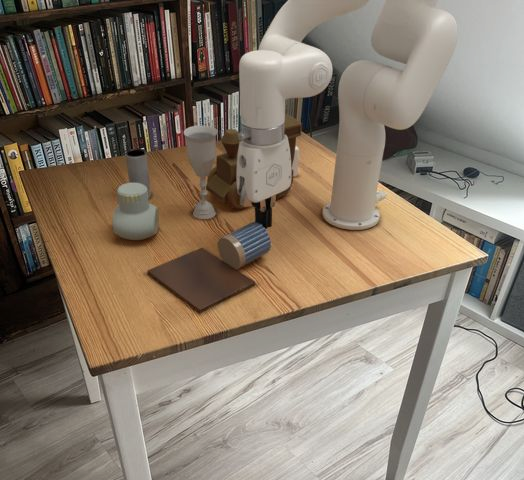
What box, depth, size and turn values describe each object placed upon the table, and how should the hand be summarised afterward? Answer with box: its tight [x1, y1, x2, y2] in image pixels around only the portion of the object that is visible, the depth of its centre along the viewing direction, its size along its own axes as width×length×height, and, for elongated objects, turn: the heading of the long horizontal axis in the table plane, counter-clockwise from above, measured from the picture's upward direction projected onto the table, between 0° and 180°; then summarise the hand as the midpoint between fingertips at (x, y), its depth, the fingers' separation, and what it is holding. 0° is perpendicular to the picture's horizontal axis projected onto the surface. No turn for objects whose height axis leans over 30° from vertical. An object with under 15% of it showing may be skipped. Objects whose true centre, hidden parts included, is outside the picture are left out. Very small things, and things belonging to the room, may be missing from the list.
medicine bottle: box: [291, 145, 300, 178], centre depth 138 cm, size 7×7×12 cm
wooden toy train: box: [205, 113, 303, 210], centre depth 127 cm, size 20×11×17 cm, turn 124°
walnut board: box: [147, 247, 256, 314], centre depth 105 cm, size 13×16×1 cm
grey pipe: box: [125, 148, 152, 199], centre depth 127 cm, size 4×4×10 cm
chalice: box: [183, 124, 219, 220], centre depth 119 cm, size 7×7×18 cm
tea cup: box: [217, 221, 272, 270], centre depth 108 cm, size 8×7×7 cm
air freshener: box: [112, 182, 160, 241], centre depth 114 cm, size 11×8×10 cm
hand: (263, 225), depth 110 cm, fingers closed
